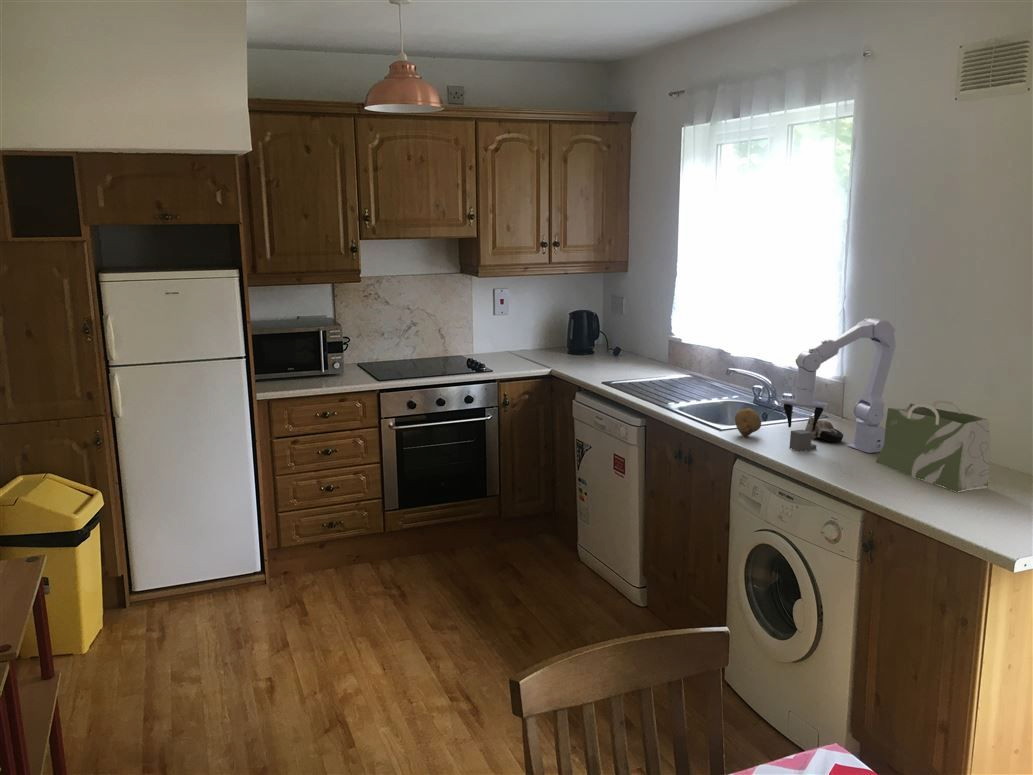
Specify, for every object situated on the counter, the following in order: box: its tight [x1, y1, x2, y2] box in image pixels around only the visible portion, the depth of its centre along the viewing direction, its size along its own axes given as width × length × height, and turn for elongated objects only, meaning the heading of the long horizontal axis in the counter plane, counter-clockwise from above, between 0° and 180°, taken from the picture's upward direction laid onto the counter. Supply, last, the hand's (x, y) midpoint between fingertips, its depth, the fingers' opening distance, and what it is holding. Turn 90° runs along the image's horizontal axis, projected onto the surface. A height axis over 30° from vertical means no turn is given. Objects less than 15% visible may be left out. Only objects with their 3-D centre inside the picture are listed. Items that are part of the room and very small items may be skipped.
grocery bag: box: [875, 398, 991, 493], centre depth 263 cm, size 32×14×23 cm, turn 22°
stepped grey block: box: [789, 429, 817, 452], centre depth 291 cm, size 4×8×6 cm, turn 114°
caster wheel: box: [804, 415, 844, 444], centre depth 304 cm, size 7×11×10 cm
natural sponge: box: [734, 407, 762, 437], centre depth 306 cm, size 9×9×10 cm
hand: (801, 428), depth 290 cm, fingers open, 7 cm apart
